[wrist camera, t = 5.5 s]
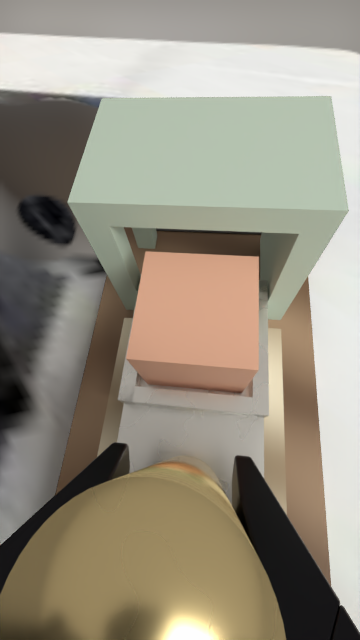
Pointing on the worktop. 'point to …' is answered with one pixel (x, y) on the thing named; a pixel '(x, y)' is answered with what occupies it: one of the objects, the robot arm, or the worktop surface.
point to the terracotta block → (197, 321)
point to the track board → (284, 390)
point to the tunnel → (213, 181)
